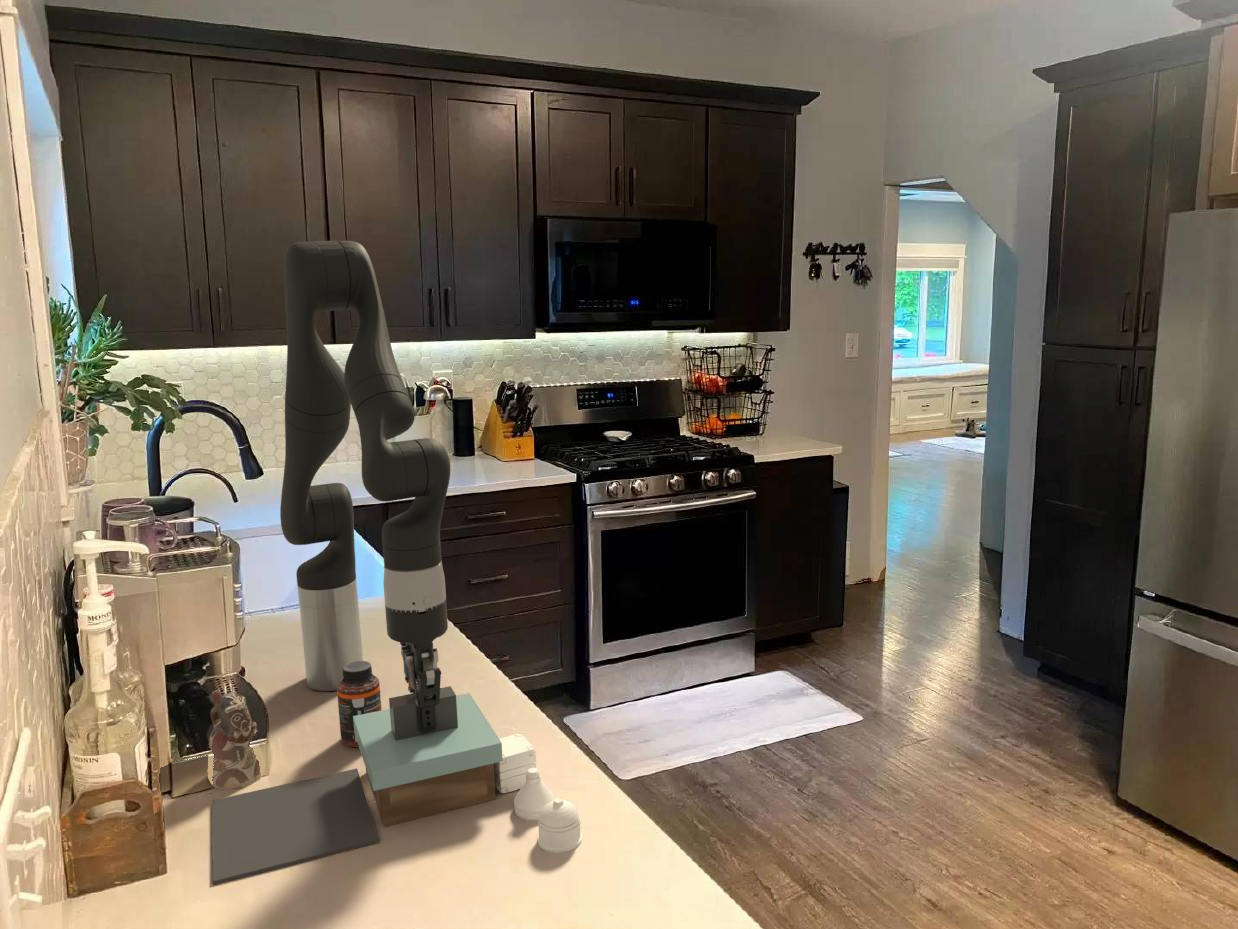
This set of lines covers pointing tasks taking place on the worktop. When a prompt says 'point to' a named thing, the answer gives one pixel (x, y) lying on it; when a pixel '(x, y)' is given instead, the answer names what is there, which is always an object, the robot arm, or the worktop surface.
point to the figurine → (232, 742)
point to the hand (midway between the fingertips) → (424, 724)
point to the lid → (424, 740)
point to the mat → (290, 824)
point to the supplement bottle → (356, 697)
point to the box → (435, 795)
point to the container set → (536, 796)
